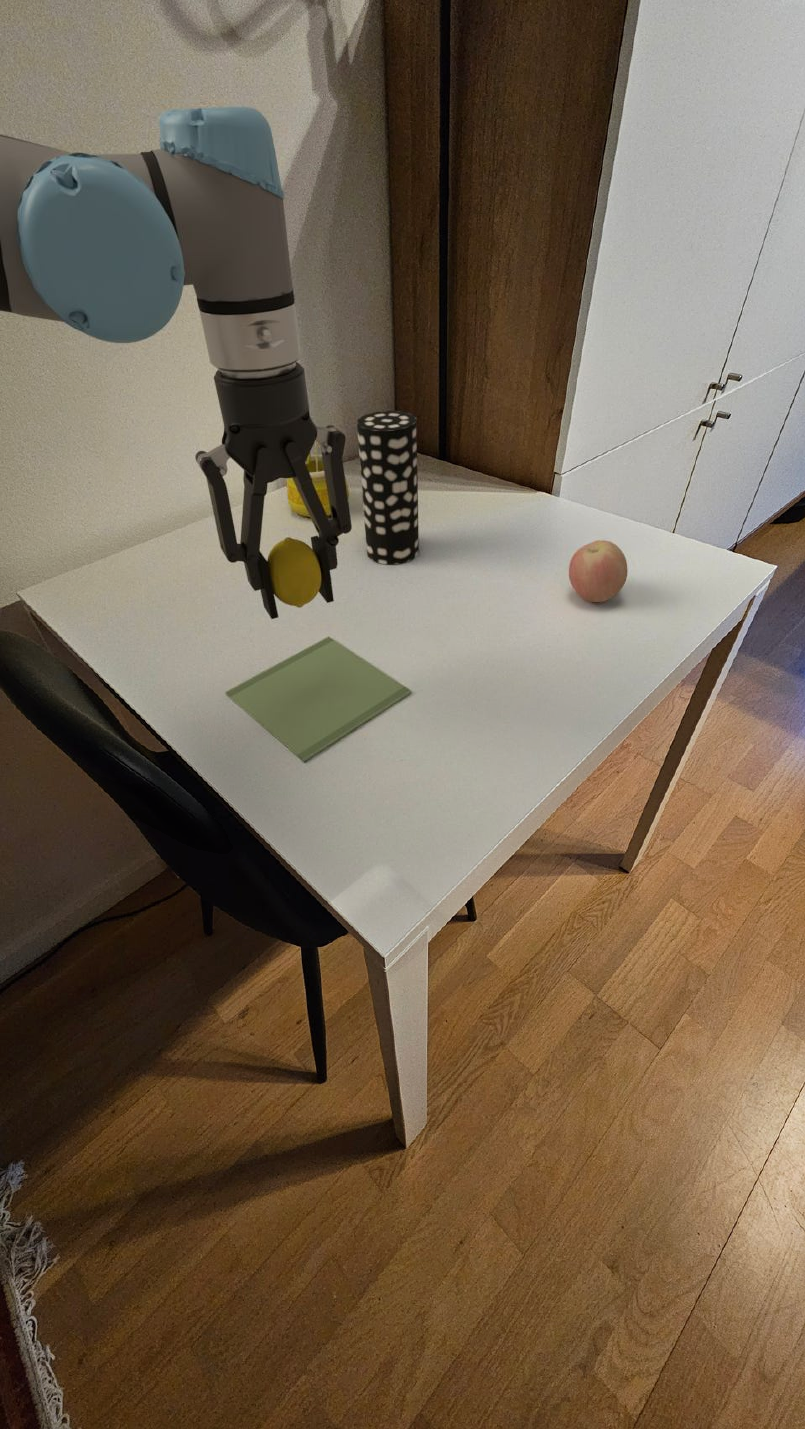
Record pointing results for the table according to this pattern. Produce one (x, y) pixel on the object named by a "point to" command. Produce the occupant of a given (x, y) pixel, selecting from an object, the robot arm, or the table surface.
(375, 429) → the white-spotted black cylinder
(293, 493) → the yellow pot
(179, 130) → the robot arm
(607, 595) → the apple
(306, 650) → the napkin
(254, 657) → the table surface
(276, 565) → the lemon
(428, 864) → the table surface
